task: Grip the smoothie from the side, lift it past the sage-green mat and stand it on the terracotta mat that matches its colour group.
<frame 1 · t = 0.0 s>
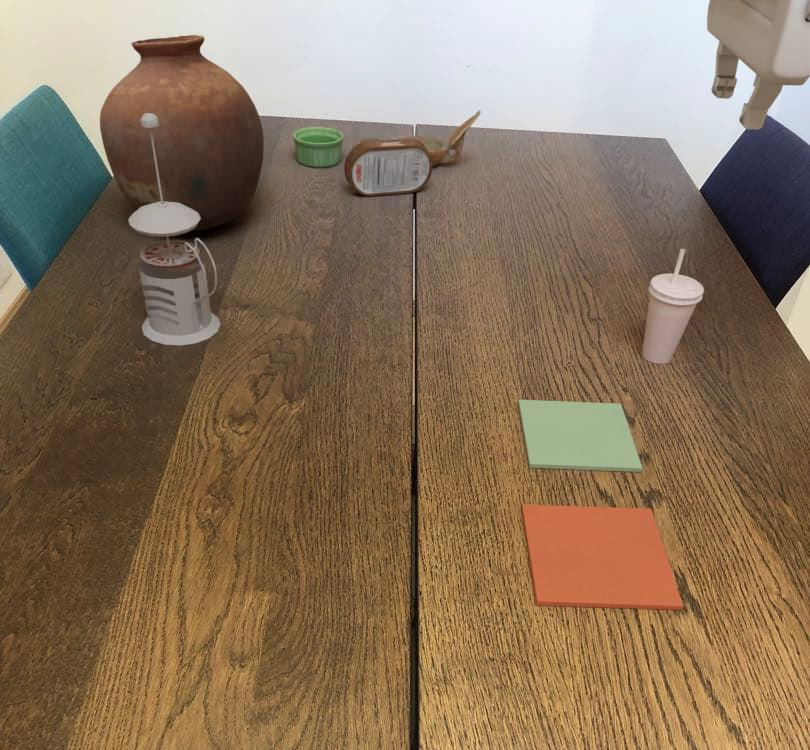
hand: (734, 111, 78), 31 cm above the table, tool pointing down, fingers open, 8 cm apart
oil lamp: (417, 164, 151), on the table
tin: (388, 194, 139), on the table
terracotta mat: (596, 556, 77), on the table
ramekin: (318, 161, 149), on the table
sage mat: (576, 436, 91), on the table
smoothie: (656, 357, 104), on the table
french press: (186, 329, 104), on the table
pottery: (195, 221, 128), on the table
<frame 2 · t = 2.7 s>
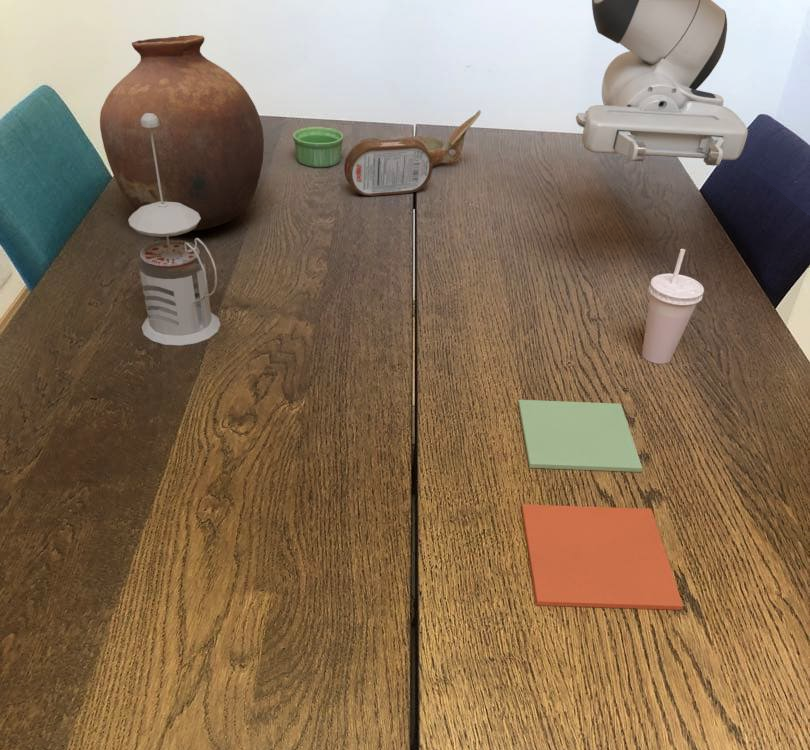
hand: (677, 156, 98), 20 cm above the table, tool horizontal, fingers open, 8 cm apart
nothing on the table moved.
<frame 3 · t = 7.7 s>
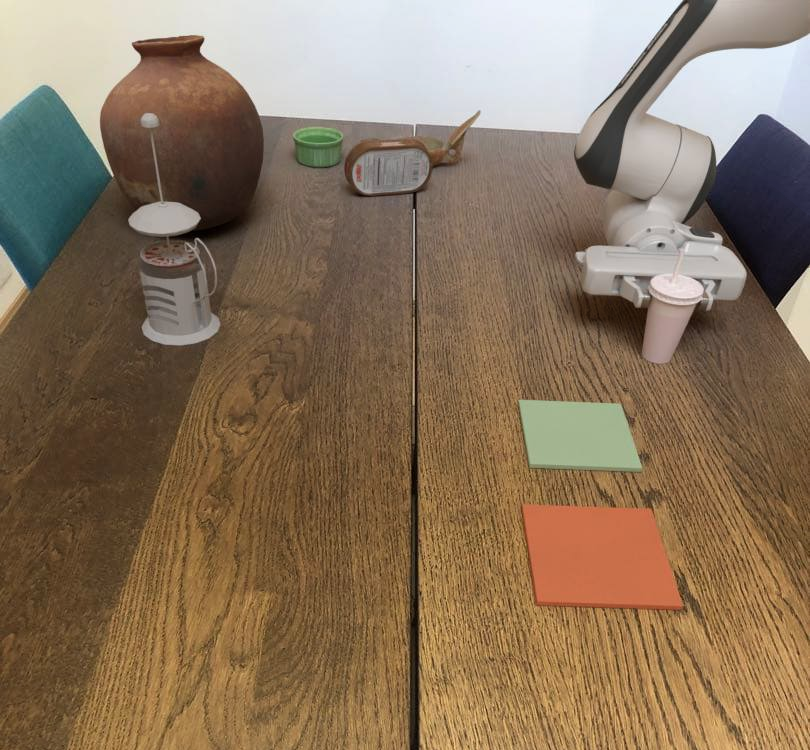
hand: (675, 303, 98), 8 cm above the table, tool horizontal, fingers closed on smoothie, 6 cm apart
smoothie: (656, 357, 104), on the table, touching gripper
everything else where it was.
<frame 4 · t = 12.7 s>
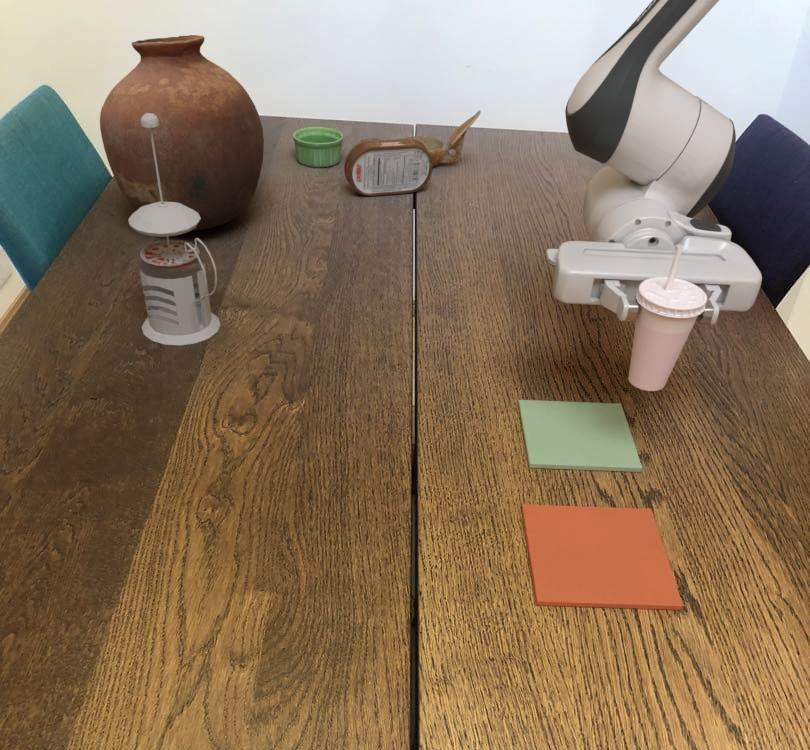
hand: (670, 316, 77), 17 cm above the table, tool horizontal, fingers closed on smoothie, 6 cm apart
smoothie: (646, 382, 83), point 9 cm above the table, touching gripper
everything else where it was.
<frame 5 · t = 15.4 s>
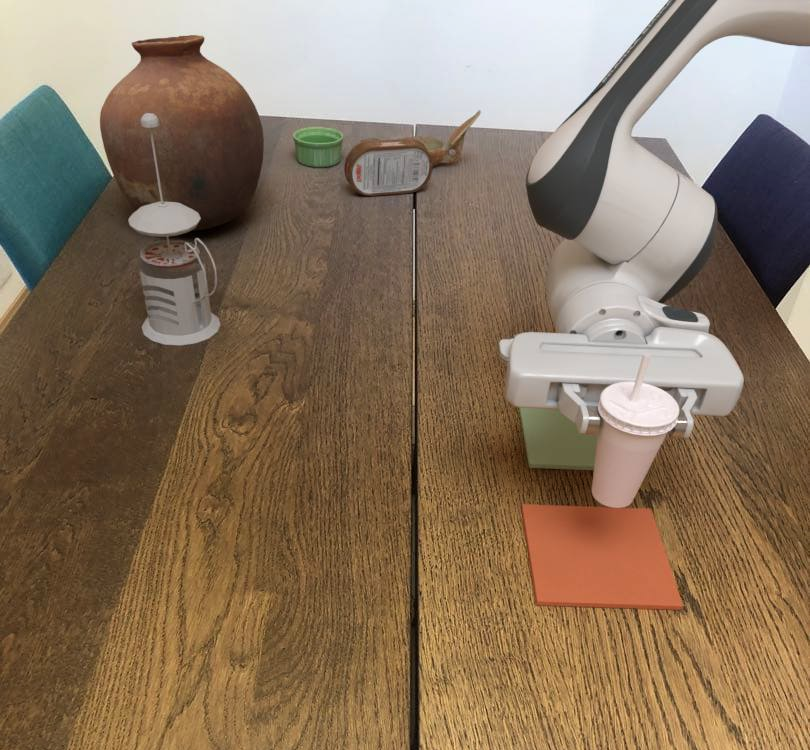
hand: (637, 429, 66), 15 cm above the table, tool horizontal, fingers closed on smoothie, 6 cm apart
smoothie: (612, 495, 72), point 7 cm above the table, touching gripper
everything else where it was.
when the fingers open (8 cm above the table, at t = 17.9 s): smoothie stays where it is, resting on terracotta mat.
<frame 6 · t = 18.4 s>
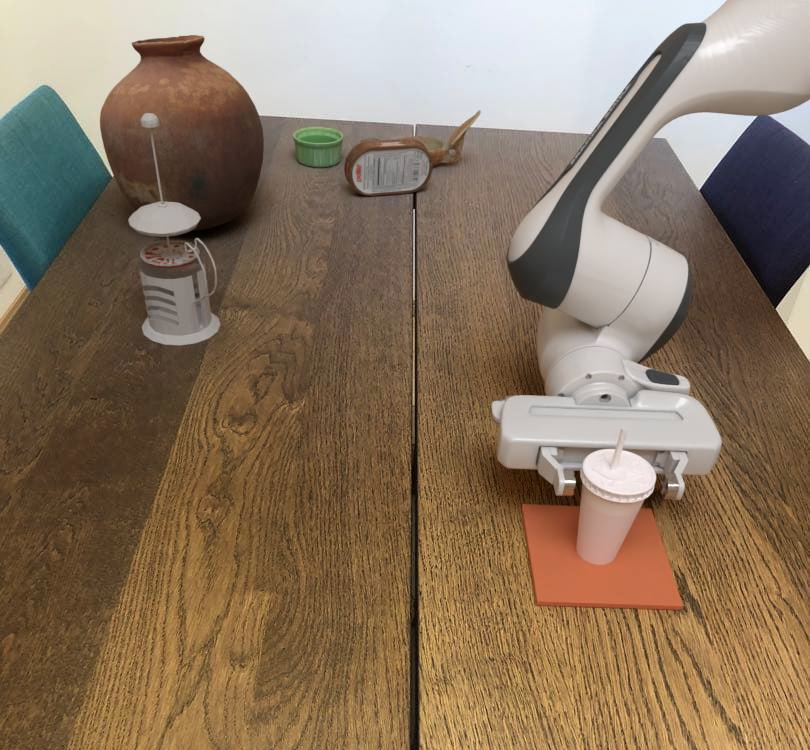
hand: (620, 492, 70), 9 cm above the table, tool horizontal, fingers open, 8 cm apart
smoothie: (595, 552, 77), resting on terracotta mat
everything else where it was.
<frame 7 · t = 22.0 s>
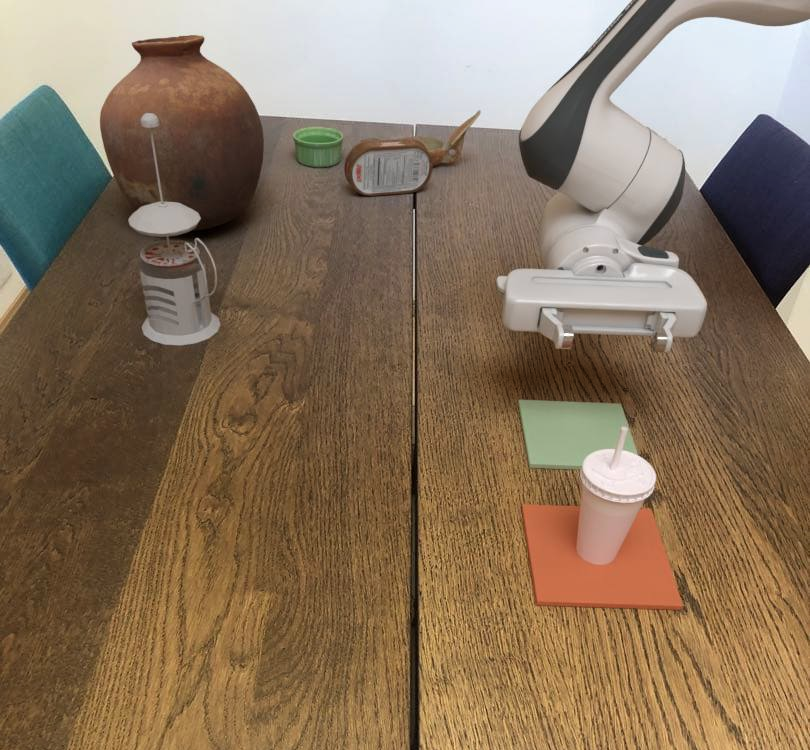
hand: (614, 344, 78), 14 cm above the table, tool horizontal, fingers open, 8 cm apart
nothing on the table moved.
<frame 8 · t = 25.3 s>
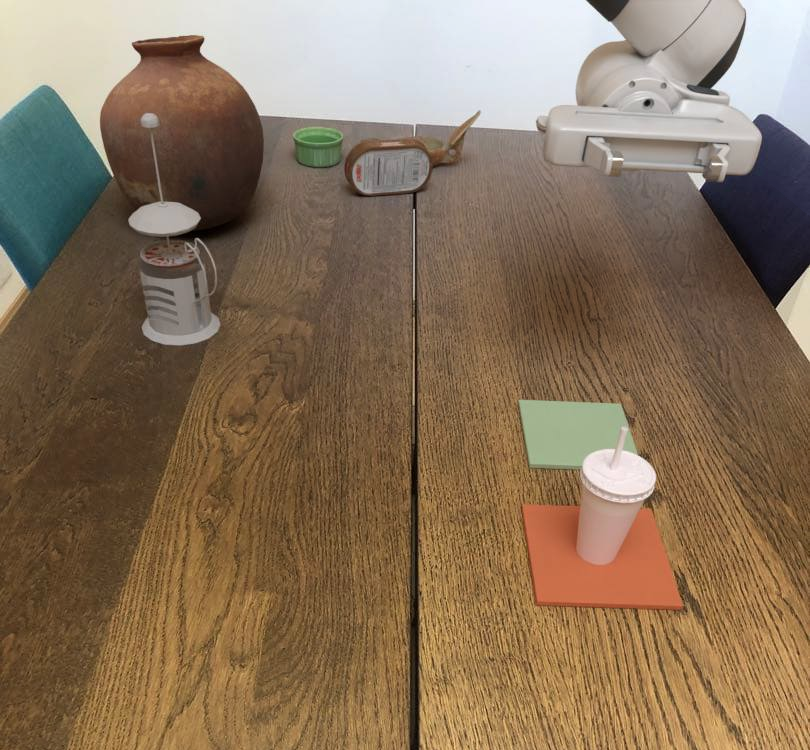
hand: (666, 170, 73), 28 cm above the table, tool horizontal, fingers open, 8 cm apart
nothing on the table moved.
at the end: smoothie inside the target area on the terracotta mat (0.2 cm from its centre), point 0.4 cm above the terracotta mat's base; smoothie tilted 0°; the gripper is holding nothing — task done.
